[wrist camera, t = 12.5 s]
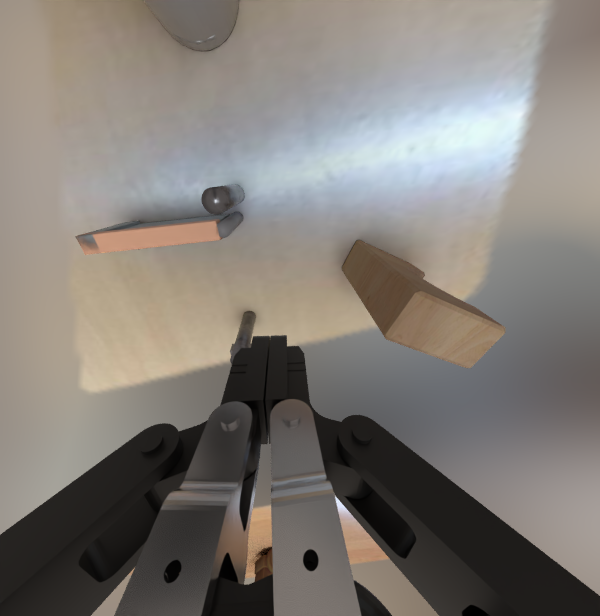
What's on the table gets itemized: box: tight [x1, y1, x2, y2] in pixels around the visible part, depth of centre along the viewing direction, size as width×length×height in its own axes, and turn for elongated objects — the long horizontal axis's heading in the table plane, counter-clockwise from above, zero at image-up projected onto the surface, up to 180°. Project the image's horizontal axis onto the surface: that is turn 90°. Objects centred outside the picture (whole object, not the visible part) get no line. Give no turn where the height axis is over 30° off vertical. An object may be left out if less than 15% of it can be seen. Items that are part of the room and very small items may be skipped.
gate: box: [75, 212, 243, 255], centre depth 30 cm, size 16×2×9 cm, turn 95°
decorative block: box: [342, 240, 505, 368], centre depth 31 cm, size 11×6×20 cm, turn 65°
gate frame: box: [202, 185, 256, 363], centre depth 33 cm, size 22×3×12 cm, turn 0°
